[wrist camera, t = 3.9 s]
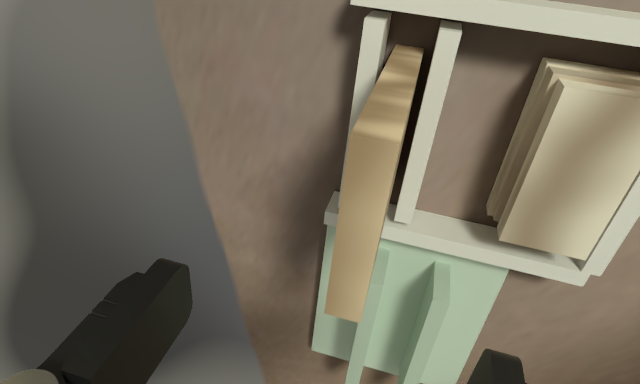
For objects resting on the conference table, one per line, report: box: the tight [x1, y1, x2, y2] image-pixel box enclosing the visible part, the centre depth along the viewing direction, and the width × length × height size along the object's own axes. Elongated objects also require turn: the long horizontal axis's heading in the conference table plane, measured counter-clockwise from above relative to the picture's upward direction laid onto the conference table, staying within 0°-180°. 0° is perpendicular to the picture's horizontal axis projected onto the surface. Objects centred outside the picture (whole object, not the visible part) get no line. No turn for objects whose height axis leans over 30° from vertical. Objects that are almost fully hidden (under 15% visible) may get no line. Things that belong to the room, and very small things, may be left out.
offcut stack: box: [486, 57, 640, 261], centre depth 21 cm, size 5×9×4 cm, turn 175°
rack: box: [324, 0, 640, 287], centre depth 22 cm, size 16×14×2 cm
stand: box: [311, 225, 510, 384], centre depth 30 cm, size 12×14×4 cm
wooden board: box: [324, 44, 424, 323], centre depth 19 cm, size 2×8×12 cm, turn 175°
